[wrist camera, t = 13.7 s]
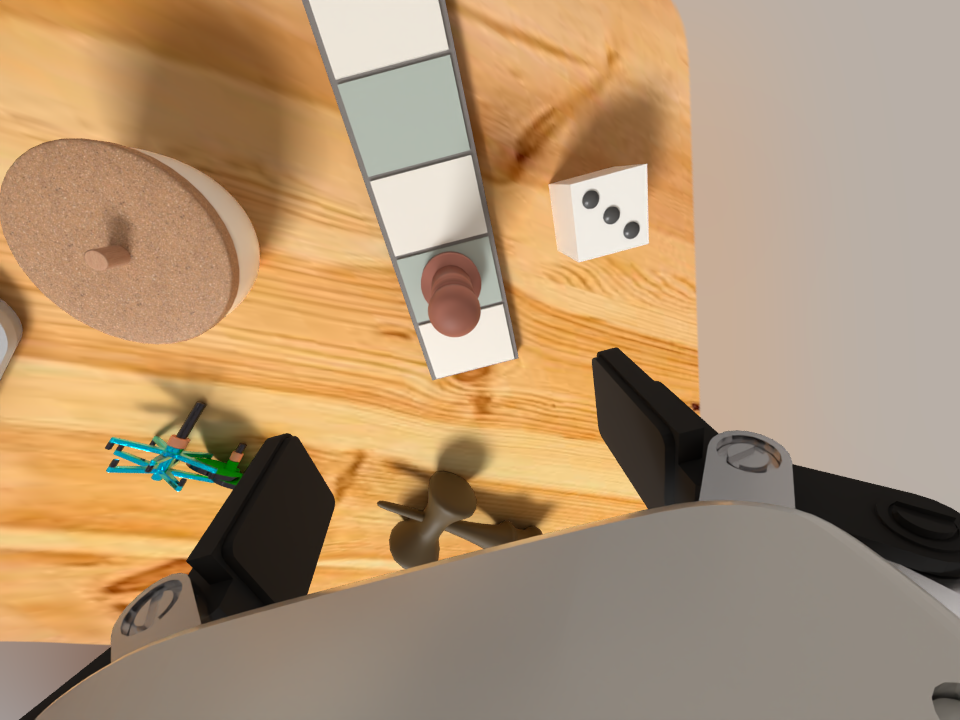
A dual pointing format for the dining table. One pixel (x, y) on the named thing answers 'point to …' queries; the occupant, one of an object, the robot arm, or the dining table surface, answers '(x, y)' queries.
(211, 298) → the lidded jar
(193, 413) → the stick construction toy
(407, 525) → the kendama
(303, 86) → the dining table surface
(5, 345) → the tablet
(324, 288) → the dining table surface
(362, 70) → the track board
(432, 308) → the pawn
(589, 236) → the die
